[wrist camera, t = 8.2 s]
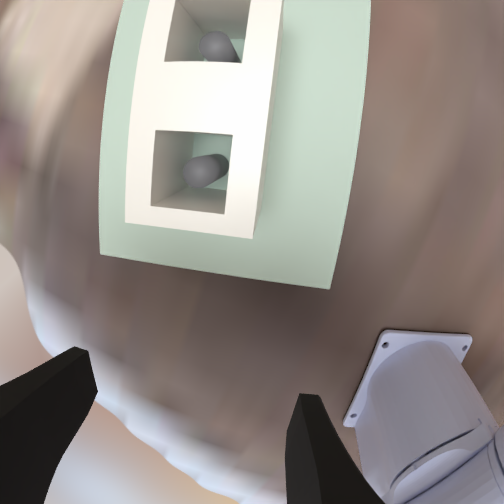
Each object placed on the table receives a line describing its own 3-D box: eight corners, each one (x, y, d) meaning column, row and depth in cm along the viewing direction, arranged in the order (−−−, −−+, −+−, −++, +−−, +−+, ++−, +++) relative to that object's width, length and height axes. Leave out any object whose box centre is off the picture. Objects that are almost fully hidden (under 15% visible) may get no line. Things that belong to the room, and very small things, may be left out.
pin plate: (326, 277, 18) (340, 325, 13) (112, 245, 18) (66, 278, 13) (364, 5, 12) (390, -35, 7) (138, -6, 13) (99, -40, 8)
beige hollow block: (261, 208, 15) (252, 239, 10) (169, 197, 15) (125, 222, 11) (283, 30, 12) (284, -17, 7) (189, 26, 12) (153, -15, 8)
